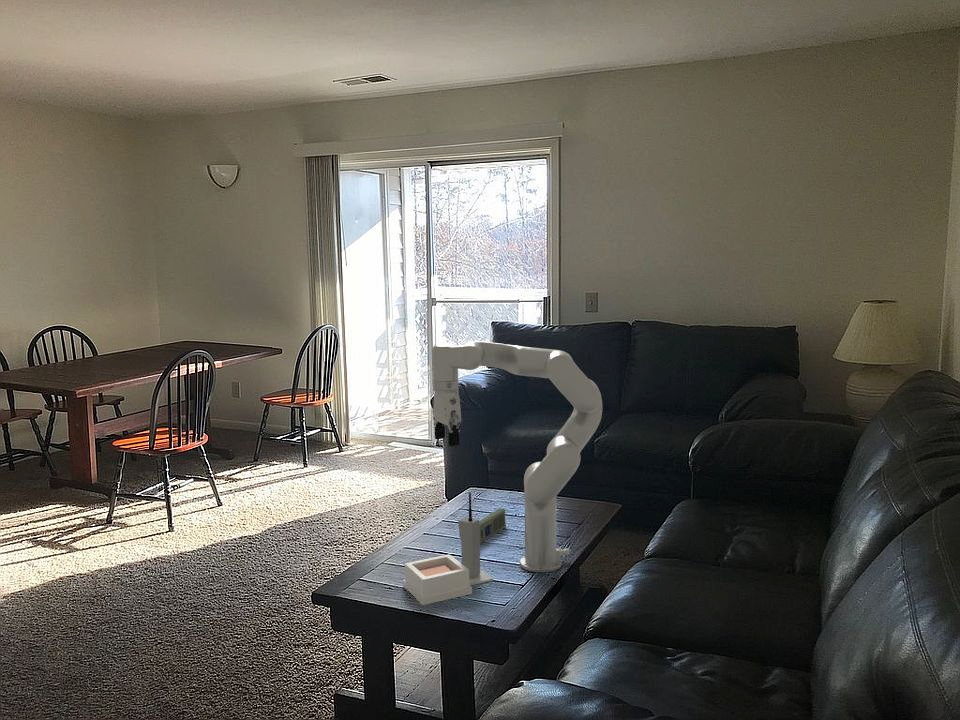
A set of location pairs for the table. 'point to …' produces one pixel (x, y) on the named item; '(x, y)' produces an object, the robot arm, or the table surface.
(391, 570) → the table surface
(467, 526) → the vintage mobile phone
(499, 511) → the handheld radio
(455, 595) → the frame
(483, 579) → the light gray square panel
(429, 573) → the button
